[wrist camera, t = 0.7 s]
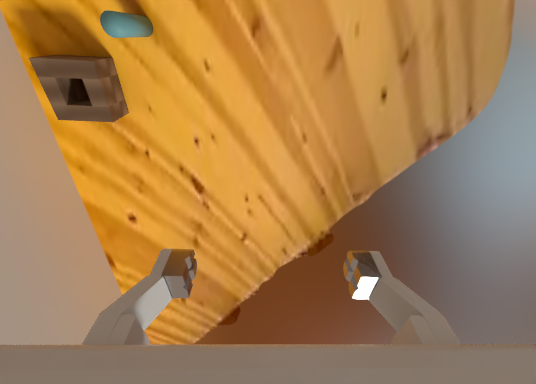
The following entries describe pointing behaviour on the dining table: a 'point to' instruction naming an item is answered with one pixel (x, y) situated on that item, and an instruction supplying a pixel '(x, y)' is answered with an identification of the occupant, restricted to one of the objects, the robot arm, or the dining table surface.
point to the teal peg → (125, 24)
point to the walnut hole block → (81, 87)
